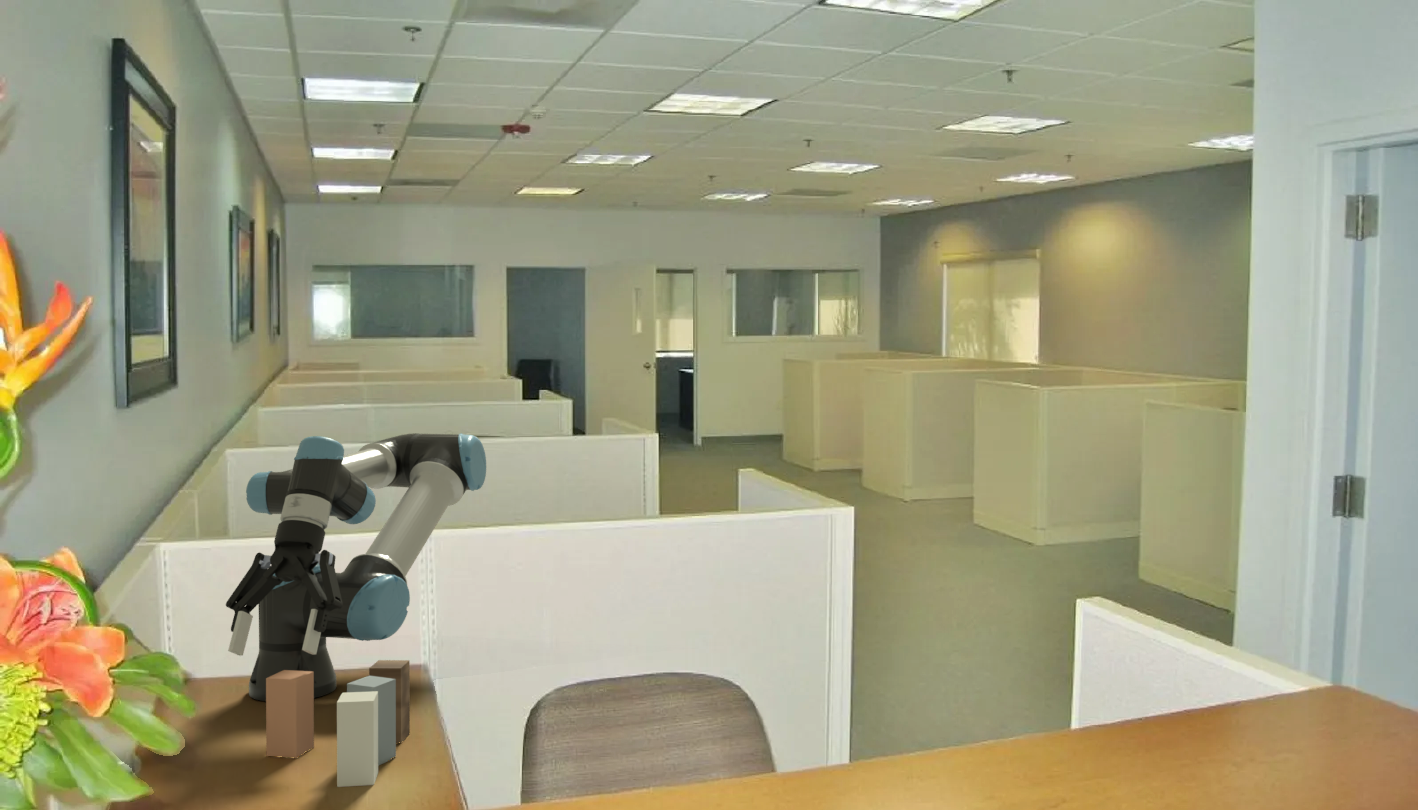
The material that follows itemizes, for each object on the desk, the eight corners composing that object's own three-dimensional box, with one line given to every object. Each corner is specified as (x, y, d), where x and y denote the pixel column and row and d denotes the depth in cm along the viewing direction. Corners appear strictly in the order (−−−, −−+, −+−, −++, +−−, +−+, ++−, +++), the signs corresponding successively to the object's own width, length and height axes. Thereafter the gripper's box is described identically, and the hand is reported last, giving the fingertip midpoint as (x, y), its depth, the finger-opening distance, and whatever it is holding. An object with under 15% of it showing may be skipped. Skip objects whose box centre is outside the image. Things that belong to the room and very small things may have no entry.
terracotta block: (284, 746, 176) (284, 669, 175) (313, 748, 175) (313, 671, 175) (266, 756, 171) (266, 678, 171) (296, 758, 170) (296, 680, 170)
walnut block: (379, 733, 182) (378, 660, 182) (409, 733, 182) (409, 660, 182) (369, 743, 177) (369, 668, 177) (401, 743, 177) (400, 668, 177)
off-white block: (342, 774, 163) (342, 692, 163) (378, 772, 164) (377, 691, 164) (337, 786, 158) (336, 702, 158) (373, 784, 159) (373, 700, 159)
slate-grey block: (369, 753, 173) (369, 675, 172) (395, 757, 171) (395, 678, 170) (347, 763, 168) (346, 683, 168) (374, 767, 166) (374, 687, 166)
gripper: (225, 521, 186) (190, 647, 176) (355, 514, 179) (326, 645, 169) (253, 537, 192) (221, 659, 183) (380, 530, 185) (354, 658, 176)
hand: (271, 653), depth 176 cm, fingers open, 13 cm apart
